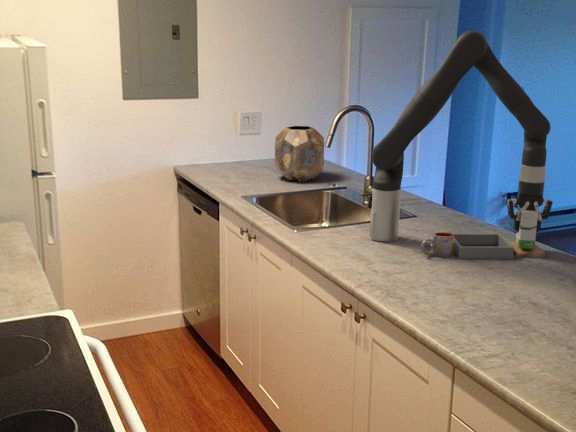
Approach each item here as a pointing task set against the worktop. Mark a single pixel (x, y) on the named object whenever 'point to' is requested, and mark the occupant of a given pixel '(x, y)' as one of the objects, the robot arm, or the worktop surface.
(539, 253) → the tan flat slab
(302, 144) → the planter
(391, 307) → the worktop surface
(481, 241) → the parts bin
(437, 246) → the mug
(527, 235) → the ink box
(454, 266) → the worktop surface
